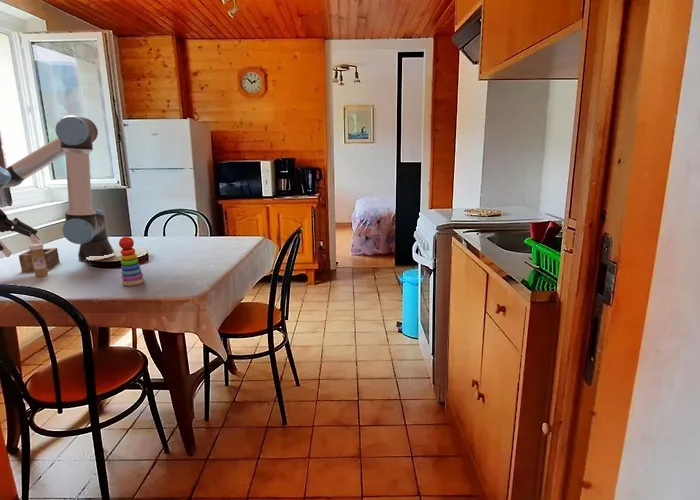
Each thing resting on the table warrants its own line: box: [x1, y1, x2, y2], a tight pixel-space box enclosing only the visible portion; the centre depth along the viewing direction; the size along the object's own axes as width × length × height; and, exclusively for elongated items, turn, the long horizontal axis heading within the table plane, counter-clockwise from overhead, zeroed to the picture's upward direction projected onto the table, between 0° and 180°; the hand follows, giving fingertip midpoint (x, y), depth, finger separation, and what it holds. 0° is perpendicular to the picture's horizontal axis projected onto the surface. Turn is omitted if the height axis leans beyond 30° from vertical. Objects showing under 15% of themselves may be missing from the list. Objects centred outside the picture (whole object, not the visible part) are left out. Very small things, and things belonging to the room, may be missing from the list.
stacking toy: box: [118, 236, 145, 287], centre depth 169 cm, size 8×8×19 cm
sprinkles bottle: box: [28, 243, 49, 278], centre depth 182 cm, size 5×5×14 cm
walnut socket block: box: [18, 247, 61, 272], centre depth 196 cm, size 11×11×7 cm
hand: (26, 251), depth 182 cm, fingers open, 13 cm apart
